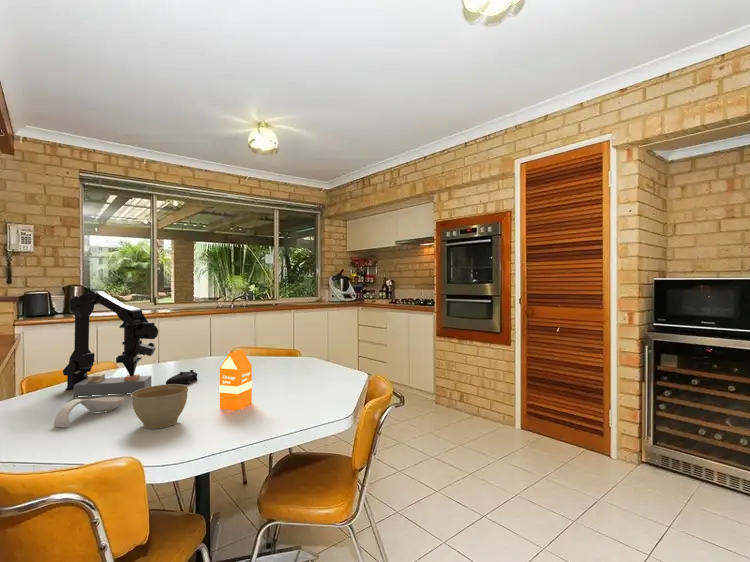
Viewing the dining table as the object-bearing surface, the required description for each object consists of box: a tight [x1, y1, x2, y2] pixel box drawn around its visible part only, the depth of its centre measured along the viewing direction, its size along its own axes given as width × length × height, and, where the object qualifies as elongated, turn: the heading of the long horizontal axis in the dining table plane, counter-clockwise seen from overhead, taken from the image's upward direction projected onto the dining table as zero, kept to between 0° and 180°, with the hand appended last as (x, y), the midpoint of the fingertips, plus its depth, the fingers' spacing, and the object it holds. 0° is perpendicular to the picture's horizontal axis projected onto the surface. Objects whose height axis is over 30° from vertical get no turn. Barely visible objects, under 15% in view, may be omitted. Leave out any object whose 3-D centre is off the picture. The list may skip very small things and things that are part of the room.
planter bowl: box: [130, 384, 189, 430], centre depth 128 cm, size 16×16×11 cm
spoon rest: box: [53, 396, 124, 429], centre depth 136 cm, size 24×12×7 cm, turn 175°
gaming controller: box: [165, 369, 198, 386], centre depth 181 cm, size 14×6×10 cm
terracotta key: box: [123, 374, 141, 381], centre depth 167 cm, size 4×4×4 cm
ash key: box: [87, 373, 106, 383], centre depth 163 cm, size 4×4×4 cm
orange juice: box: [219, 349, 253, 411], centre depth 146 cm, size 8×9×20 cm
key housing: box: [73, 375, 152, 398], centre depth 165 cm, size 25×10×5 cm, turn 105°
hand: (132, 375), depth 167 cm, fingers closed, pressing on terracotta key
